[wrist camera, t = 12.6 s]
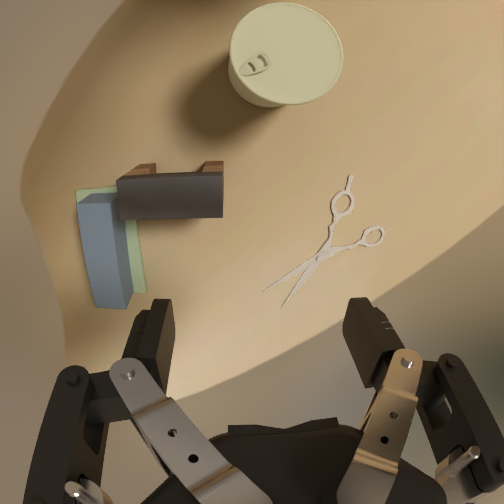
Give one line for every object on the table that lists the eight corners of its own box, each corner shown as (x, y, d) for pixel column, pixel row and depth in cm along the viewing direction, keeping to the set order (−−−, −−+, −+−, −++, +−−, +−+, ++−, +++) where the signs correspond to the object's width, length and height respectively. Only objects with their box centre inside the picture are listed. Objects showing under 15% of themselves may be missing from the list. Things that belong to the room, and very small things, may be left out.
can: (213, 55, 29) (206, 28, 18) (284, 22, 27) (310, -14, 17) (253, 121, 33) (266, 125, 22) (322, 87, 31) (365, 79, 21)
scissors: (395, 227, 40) (295, 320, 45) (393, 225, 40) (294, 317, 46) (351, 173, 36) (242, 282, 41) (349, 172, 37) (242, 279, 42)
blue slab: (91, 193, 34) (76, 204, 30) (122, 192, 34) (110, 203, 30) (105, 289, 40) (95, 307, 36) (133, 290, 40) (125, 309, 36)
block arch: (139, 164, 34) (116, 180, 26) (223, 160, 34) (222, 175, 27) (142, 196, 35) (120, 220, 28) (223, 193, 36) (222, 217, 29)
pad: (77, 189, 34) (75, 190, 33) (133, 184, 35) (132, 186, 34) (96, 289, 41) (95, 292, 40) (147, 290, 41) (146, 293, 41)
